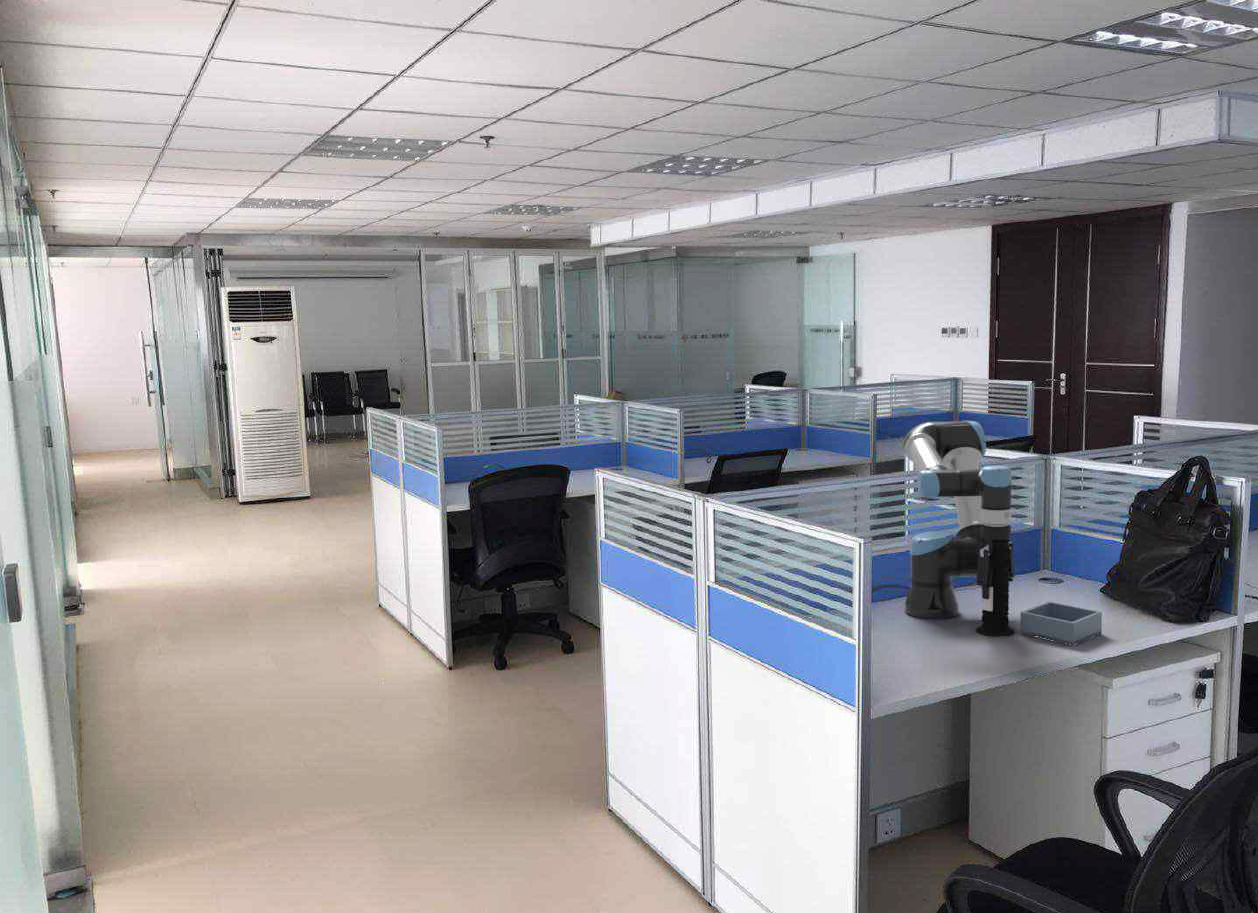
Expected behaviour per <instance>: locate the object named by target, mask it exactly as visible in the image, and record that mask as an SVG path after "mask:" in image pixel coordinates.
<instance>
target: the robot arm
mask: <svg viewBox="0 0 1258 913" xmlns="http://www.w3.org/2000/svg"><path fill="white" fill-rule="evenodd" d="M902 449H903V453H904V454H905V457H907V459H908V460H909V461H911V462H912V463H913V464H914V466H915V469H916V470H917V472H918V473H917V476H916V477H917V480H916V482H917V484H916V486H917V491H918V495H920V497H923V498H932V499H933V498H954V502H955V507H956V514H957V520H958V525H959V526H958V527H959V529H958V530H957V532H956V533H955V536H954V535H953V533H952V532H951V531H947V530H932V531H925V532H922V533H918V534H916V535H915V536H913V537H912V539H911V541H910V550H909V555H910V586H909V589H908V592H907V596H906V598H905V601H904V612H905V613H906V614H908V615H909V616H912V617H917V618H921V619H922V618H923V619H933V620H937V619H938V620H940V619H941V620H942V619H948V618H953V617H956V616H958V615H959V614H960V608H959V606H960V605H959V603H958V600H957V597H956V594H955V591H954V589H953V578H976V585H977V586H979V587H981V597H982V598H981V610H982V611H983V610H987V611H993V587H991V583H992V578H993V573H994V570H993V568H994V562H996V558H995V559H994V560H992V564H991V561H989V555H990V554H991V553H992V554H993V543H992V542H993V541H995V540H997V541H1003V540H1008V539H1009V540H1010V539H1011V536H1012V526H1011V522H1012V521H1011V519H1012V484H1013V483H1012V482H1013V478H1012V470H1011V468H1010V467H1008V466H1004V465H986V466H982V467H980V466H979V463H980V462H982V459H983V458H984V456H985V455H986V452H987V442H986V435H985V432H984V430H983V427H982V425H981V424H980V423H979V422H978V421H974V420H973V421H972V420H963V419H962V420H961V421H960V420H959V421H928V422H923V423H920V424H918V425H916V426H914V427H913V428H911V429H910V430H909V431H908V432H907V434H906V435H905V436H904V439H903V442H902ZM982 539H985V545H984V548H983V549H982V546H983V541H982ZM1008 545H1009V553H1008V554H1009V557H1008V558H1009V565H1008V566H1009V569H1008V570H1009V580H1008V581H1009V583H1010V582H1011V583H1012V582H1013V581H1014V578H1015V569H1014V546H1015V545H1014V543H1013V542H1011V541H1009V544H1008ZM988 551H989V552H990V554H989V553H988ZM1008 589H1009V590H1010V588H1008ZM1009 592H1010V591H1009ZM1009 592H1008V594H1009ZM1009 595H1010V594H1009ZM1009 599H1010V598H1009ZM1009 599H1008V601H1009ZM1009 603H1010V601H1009ZM1009 603H1008V605H1009Z"/></svg>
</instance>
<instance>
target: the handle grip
mask: <svg viewBox="0 0 1258 913" xmlns="http://www.w3.org/2000/svg"><path fill="white" fill-rule="evenodd" d="M982 541H983V546H982V549H983V548H984V545H985V539H982ZM1009 542H1011V541H1010V539H1008V540H1003V541H997V540H995V541H993V542H992V543H993V554H992V553H991V554H990V552H989V551H988V553H989V554H990V555H989V561H991V564H992V560H994V559H995V558H996V562H994V568H993V570H994V573H993V578H992V583H991V587H993V611H987V610H982V611H981V613H982V616H981V624H980V625H978V626H977V627H976V628H975V632H976V633H978V634H979V635H982V636H986V637H991V636H994V637H995V636H996V637H995V638H998V637H997V636H1008V637H1011V636H1014V635H1015V634H1016V632H1015V630H1014V629H1013V628H1012V627H1010V626H1009V615H1010V614H1009V611H1010V606H1009V605H1008V603H1010V601H1008V599H1010V594H1008V592H1010V588H1009V587H1010V581H1008V580H1009V573H1010V572H1009V570H1008V569H1009V566H1008V565H1009V558H1008V557H1009V554H1008V553H1009V545H1008V544H1009ZM1008 588H1009V589H1008ZM994 637H993V638H994Z"/></svg>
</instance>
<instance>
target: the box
mask: <svg viewBox="0 0 1258 913" xmlns="http://www.w3.org/2000/svg"><path fill="white" fill-rule="evenodd" d="M1102 615H1103V614H1102V611H1098V610H1094V609H1089V608H1085V607H1079V606H1073V605H1069V604H1063V603H1058V602H1052V601H1047V602H1045V603H1042V604H1038V605H1036V606H1034V607H1030V608H1028V609H1025V610H1022V611H1020V619H1019V620H1020V621H1019V622H1020V624H1019V626H1020V628H1019V630H1020V631H1019V632H1020V633H1021V634H1020V635H1023V634H1024V636H1027V635H1029V636H1028V637H1032V636H1038V637H1041V638H1046V639H1049V640H1053V641H1056V642H1055V643H1058V642H1060V643H1059V644H1062V643H1067V644H1071V645H1074V644H1076V643H1079V644H1082V643H1083V642H1082V641H1084V642H1086V641H1088V640H1090V639H1089V638H1091V637H1093V636H1095V637H1097V635H1098V636H1099V634H1100V635H1102V626H1103V625H1102V624H1103V622H1102V619H1103V618H1102ZM1093 638H1094V637H1093ZM1087 639H1088V640H1087ZM1091 639H1092V638H1091ZM1049 640H1048V641H1049ZM1085 640H1086V641H1085ZM1053 641H1052V642H1053ZM1067 644H1066V645H1067ZM1071 645H1070V646H1071Z"/></svg>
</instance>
